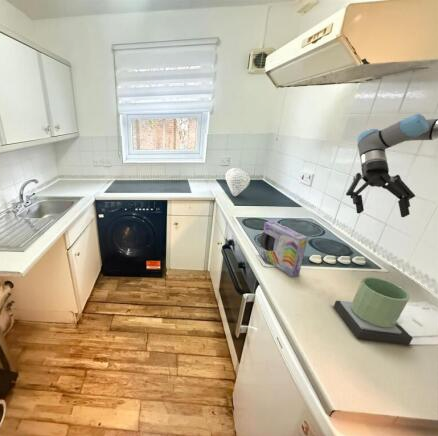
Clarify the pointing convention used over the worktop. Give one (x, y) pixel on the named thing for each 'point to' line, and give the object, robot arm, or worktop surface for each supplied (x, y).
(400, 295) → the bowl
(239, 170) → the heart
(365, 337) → the scale
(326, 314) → the worktop surface
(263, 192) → the worktop surface
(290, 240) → the cake pan box
